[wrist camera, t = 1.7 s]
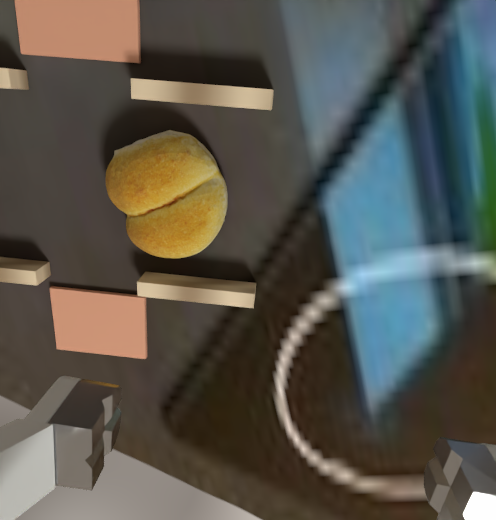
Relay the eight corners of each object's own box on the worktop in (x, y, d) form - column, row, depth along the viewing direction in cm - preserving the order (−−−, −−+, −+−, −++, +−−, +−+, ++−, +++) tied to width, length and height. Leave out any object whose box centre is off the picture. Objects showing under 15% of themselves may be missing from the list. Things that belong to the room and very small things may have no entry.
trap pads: (138, -46, 25) (136, -48, 24) (147, 356, 35) (145, 359, 35) (11, -54, 25) (7, -57, 25) (59, 346, 36) (57, 349, 35)
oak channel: (273, 90, 27) (272, 88, 23) (255, 296, 32) (251, 321, 29) (-77, 62, 28) (-132, 56, 24) (-36, 266, 34) (-75, 286, 30)
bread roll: (150, 262, 32) (133, 283, 29) (100, 155, 30) (74, 162, 26) (246, 232, 31) (241, 250, 27) (203, 115, 28) (191, 117, 24)
